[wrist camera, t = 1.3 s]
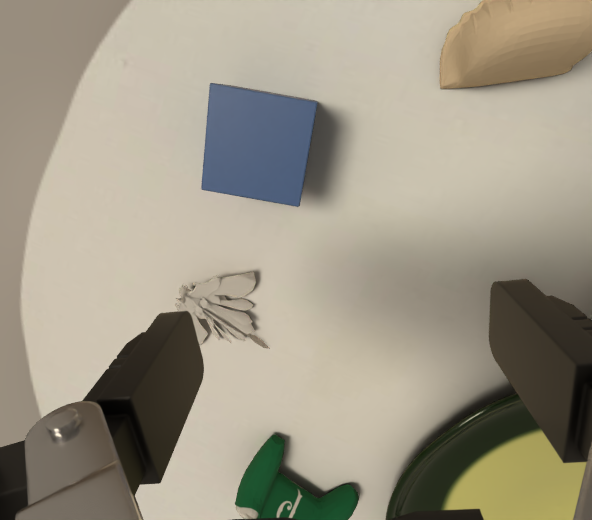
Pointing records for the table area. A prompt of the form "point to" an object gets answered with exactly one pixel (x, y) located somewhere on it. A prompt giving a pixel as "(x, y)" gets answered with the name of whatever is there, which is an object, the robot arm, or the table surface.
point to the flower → (213, 293)
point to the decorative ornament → (516, 42)
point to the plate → (491, 470)
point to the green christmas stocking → (287, 492)
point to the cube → (257, 144)
